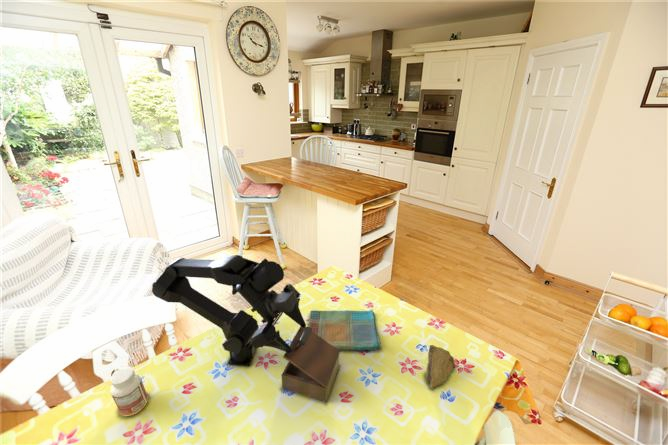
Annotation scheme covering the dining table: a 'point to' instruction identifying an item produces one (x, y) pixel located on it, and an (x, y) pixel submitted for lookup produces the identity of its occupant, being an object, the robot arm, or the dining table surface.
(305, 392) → the brown wooden box
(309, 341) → the lid
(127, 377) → the pill bottle
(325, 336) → the dish towel
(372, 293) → the dining table surface
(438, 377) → the rock
